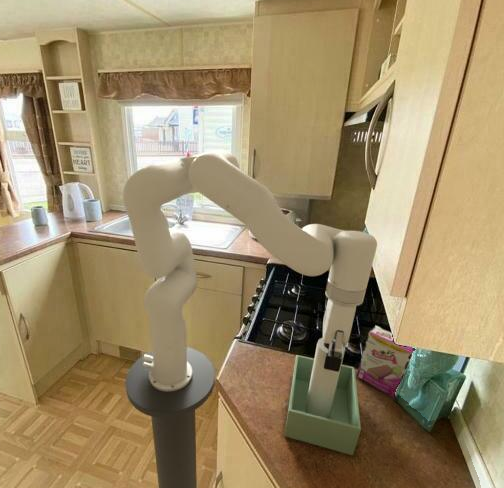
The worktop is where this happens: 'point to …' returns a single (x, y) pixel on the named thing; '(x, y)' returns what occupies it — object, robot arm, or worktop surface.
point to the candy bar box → (383, 361)
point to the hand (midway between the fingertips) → (330, 354)
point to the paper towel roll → (322, 383)
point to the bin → (341, 415)
